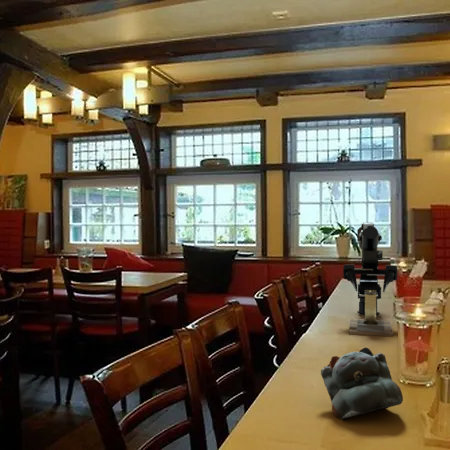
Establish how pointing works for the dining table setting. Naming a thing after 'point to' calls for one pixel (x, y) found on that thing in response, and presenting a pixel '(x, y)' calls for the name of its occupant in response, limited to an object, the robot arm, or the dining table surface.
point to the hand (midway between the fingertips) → (370, 291)
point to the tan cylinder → (370, 307)
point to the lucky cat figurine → (360, 384)
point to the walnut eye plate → (386, 326)
